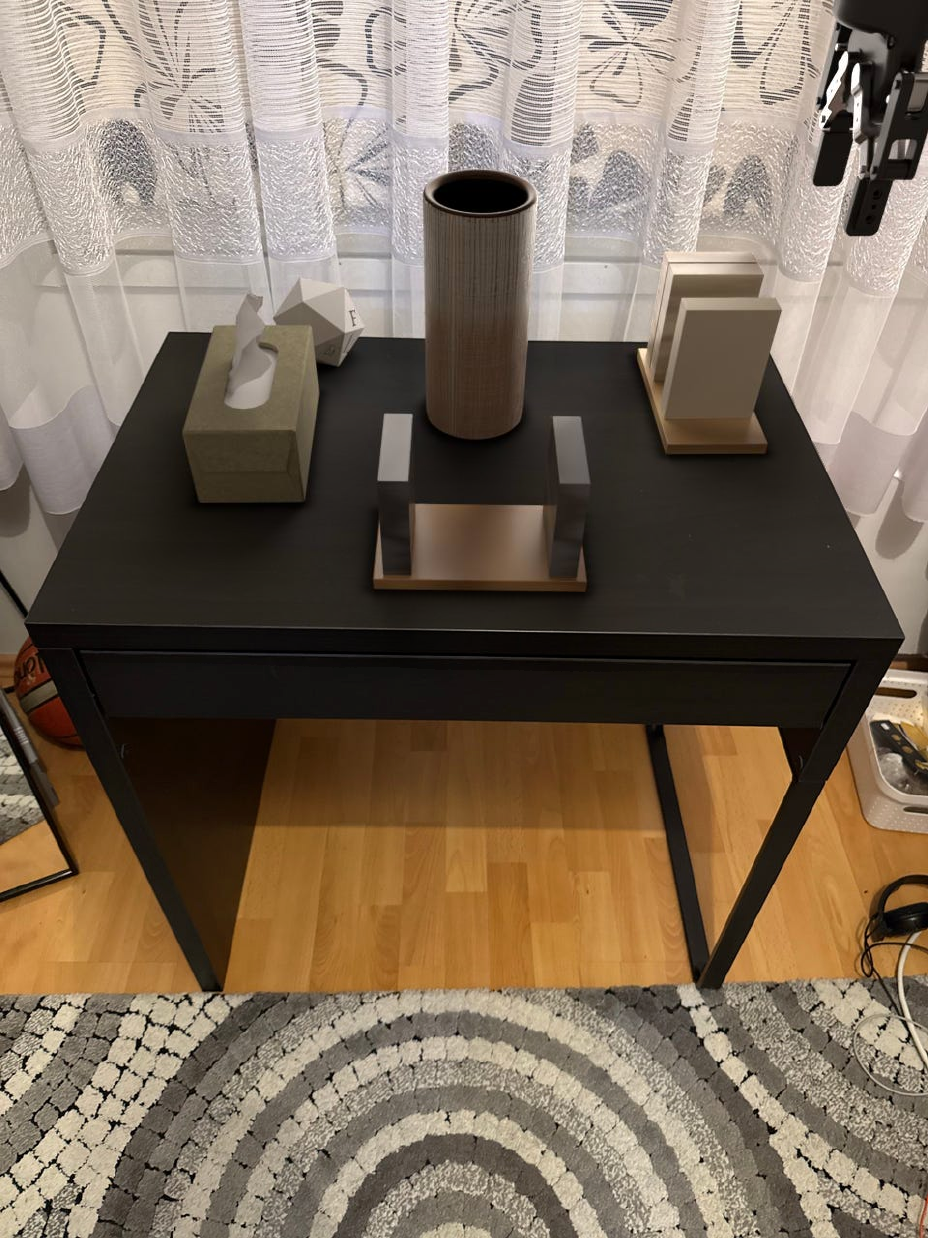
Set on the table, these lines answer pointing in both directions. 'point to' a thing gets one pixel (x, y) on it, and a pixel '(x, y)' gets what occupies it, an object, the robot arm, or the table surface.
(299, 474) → the tissue box
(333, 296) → the die
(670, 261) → the cream book rack
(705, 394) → the cream book
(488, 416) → the planter
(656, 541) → the table surface
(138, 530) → the table surface
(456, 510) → the grey book rack
